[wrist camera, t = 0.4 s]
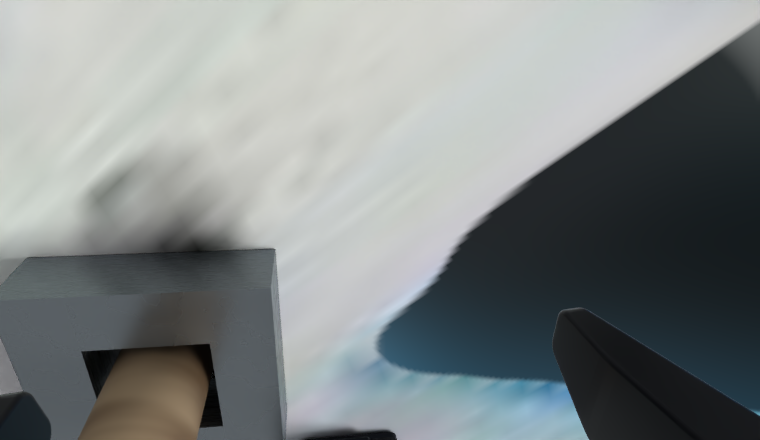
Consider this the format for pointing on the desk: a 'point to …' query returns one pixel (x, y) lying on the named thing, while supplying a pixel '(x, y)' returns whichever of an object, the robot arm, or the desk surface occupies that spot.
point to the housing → (149, 331)
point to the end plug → (152, 395)
